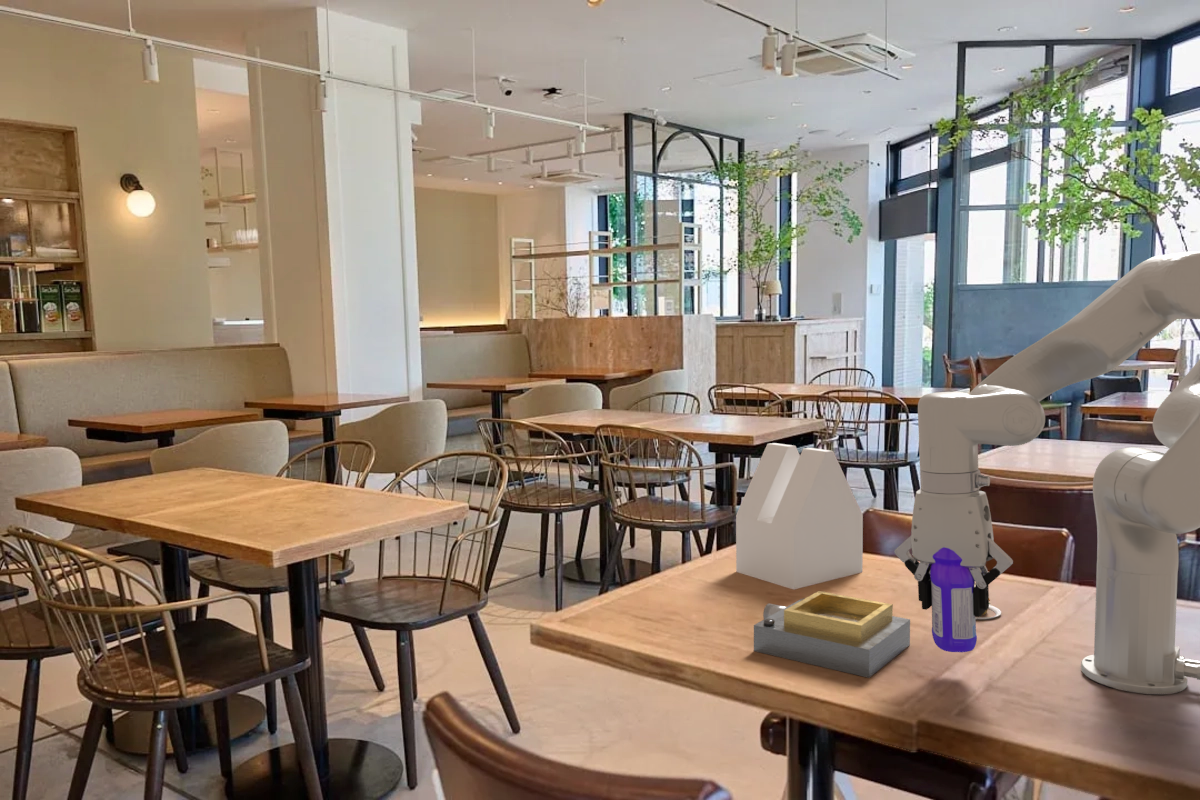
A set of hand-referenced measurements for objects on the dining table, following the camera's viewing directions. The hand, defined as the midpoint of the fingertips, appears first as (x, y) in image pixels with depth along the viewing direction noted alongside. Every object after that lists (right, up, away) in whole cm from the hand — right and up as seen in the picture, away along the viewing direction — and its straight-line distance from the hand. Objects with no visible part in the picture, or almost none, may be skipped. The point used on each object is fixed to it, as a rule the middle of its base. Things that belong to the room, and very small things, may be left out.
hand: (953, 609), depth 127 cm
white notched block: (-10, -5, +55) cm, 56 cm away
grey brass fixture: (-15, -9, +13) cm, 22 cm away
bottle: (0, -5, 0) cm, 5 cm away
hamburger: (+14, -8, +28) cm, 32 cm away
